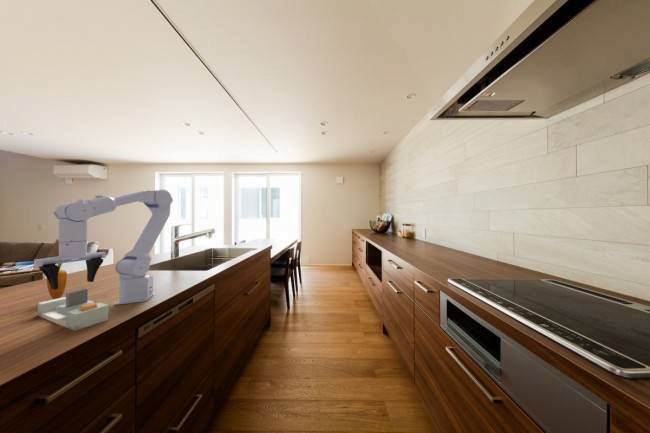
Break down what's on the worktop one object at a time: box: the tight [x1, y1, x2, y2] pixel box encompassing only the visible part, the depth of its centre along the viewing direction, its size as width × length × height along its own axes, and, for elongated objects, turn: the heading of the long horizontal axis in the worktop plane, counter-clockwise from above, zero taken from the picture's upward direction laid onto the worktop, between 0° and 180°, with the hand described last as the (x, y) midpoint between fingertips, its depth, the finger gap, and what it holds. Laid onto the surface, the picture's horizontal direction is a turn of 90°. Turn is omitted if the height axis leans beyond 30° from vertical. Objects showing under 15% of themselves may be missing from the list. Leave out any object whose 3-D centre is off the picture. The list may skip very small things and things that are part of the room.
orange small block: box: [80, 302, 97, 311], centre depth 63 cm, size 3×3×4 cm
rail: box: [37, 296, 110, 332], centre depth 67 cm, size 25×7×4 cm, turn 68°
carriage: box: [58, 288, 96, 316], centre depth 66 cm, size 6×6×6 cm
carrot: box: [46, 261, 68, 300], centre depth 81 cm, size 5×5×15 cm
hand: (73, 285), depth 66 cm, fingers open, 7 cm apart
